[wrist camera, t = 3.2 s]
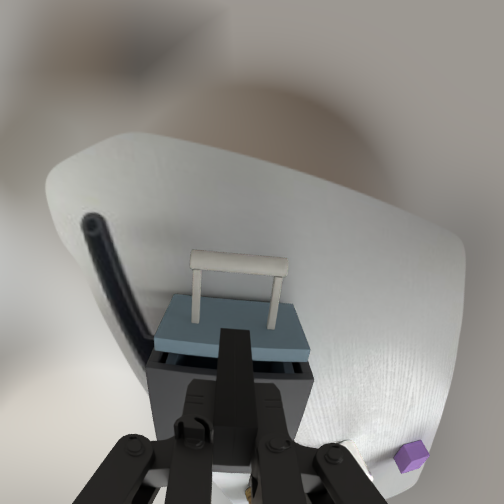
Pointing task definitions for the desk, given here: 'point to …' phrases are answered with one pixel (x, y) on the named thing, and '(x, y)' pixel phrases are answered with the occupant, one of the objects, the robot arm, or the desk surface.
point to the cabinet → (178, 378)
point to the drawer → (232, 318)
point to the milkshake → (357, 456)
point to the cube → (411, 456)
